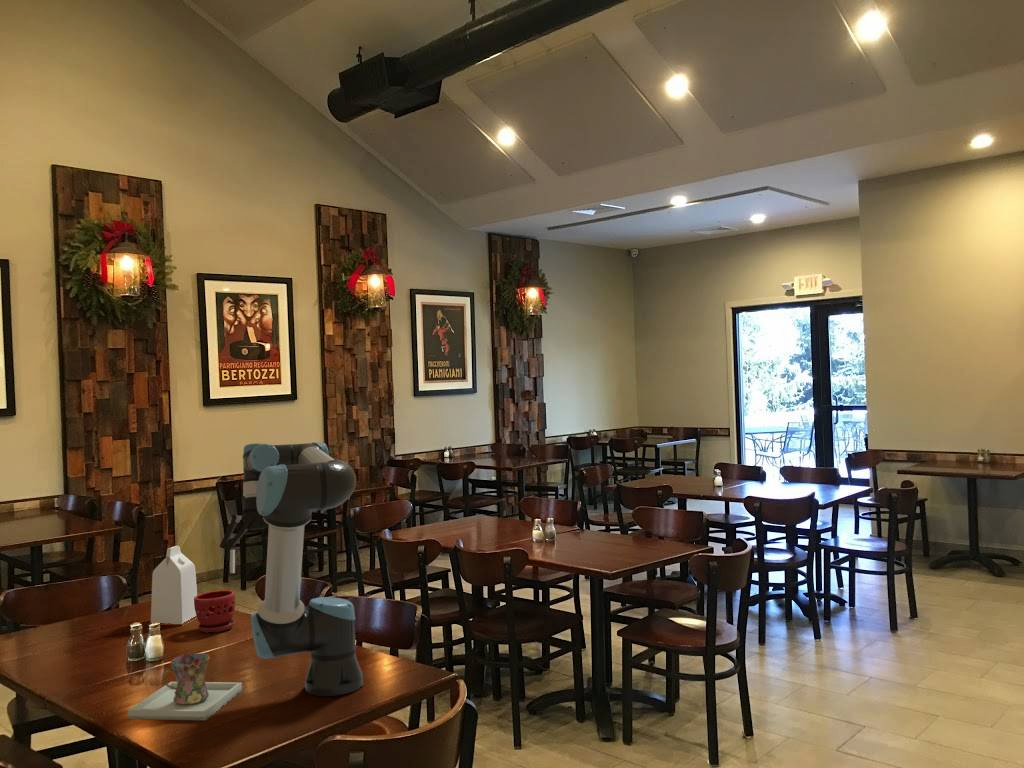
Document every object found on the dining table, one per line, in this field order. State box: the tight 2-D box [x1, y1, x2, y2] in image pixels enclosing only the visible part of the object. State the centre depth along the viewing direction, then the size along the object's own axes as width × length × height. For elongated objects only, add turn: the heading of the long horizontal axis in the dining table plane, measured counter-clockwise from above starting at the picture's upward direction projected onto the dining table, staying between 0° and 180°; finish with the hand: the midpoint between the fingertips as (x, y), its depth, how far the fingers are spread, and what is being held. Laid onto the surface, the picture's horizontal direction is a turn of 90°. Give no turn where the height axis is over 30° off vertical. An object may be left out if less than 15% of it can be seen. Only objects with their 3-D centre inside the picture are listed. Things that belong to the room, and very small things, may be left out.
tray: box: [127, 681, 243, 721], centre depth 214 cm, size 20×20×2 cm
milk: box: [150, 545, 198, 624], centre depth 296 cm, size 12×12×26 cm
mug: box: [161, 652, 210, 704], centre depth 213 cm, size 12×9×11 cm
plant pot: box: [194, 589, 236, 633], centre depth 284 cm, size 13×13×12 cm
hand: (256, 571), depth 240 cm, fingers open, 13 cm apart
